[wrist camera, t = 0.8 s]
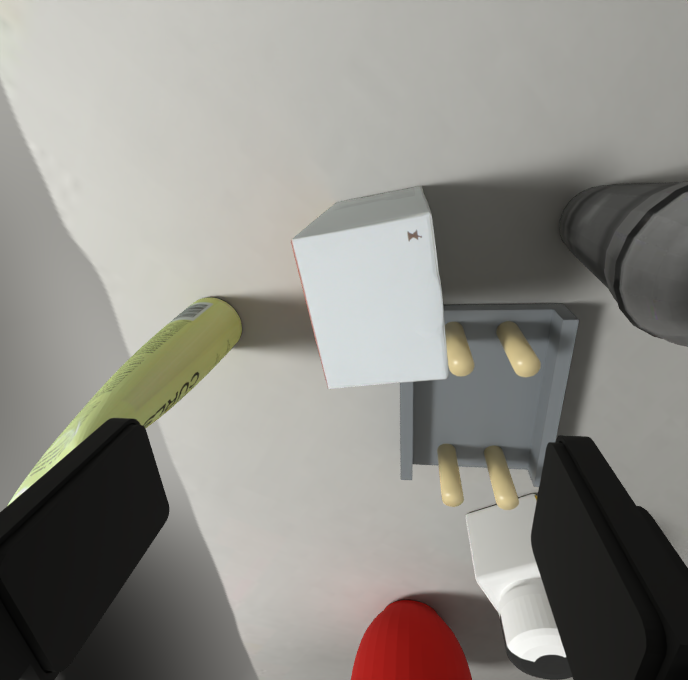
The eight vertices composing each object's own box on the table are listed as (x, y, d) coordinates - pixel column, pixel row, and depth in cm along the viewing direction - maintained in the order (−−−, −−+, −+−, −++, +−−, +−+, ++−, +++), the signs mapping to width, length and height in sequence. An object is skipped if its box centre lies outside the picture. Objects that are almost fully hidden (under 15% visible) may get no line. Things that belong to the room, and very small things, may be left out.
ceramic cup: (325, 634, 52) (308, 734, 43) (391, 565, 45) (387, 669, 36) (411, 674, 53) (412, 779, 44) (489, 613, 46) (509, 725, 37)
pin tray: (400, 305, 32) (398, 341, 26) (562, 303, 30) (601, 341, 24) (401, 454, 38) (400, 511, 32) (535, 460, 36) (561, 522, 30)
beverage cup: (530, 184, 27) (776, 253, 9) (653, 145, 25) (1271, 133, 7) (545, 285, 30) (758, 491, 12) (657, 256, 28) (1116, 450, 10)
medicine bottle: (563, 540, 40) (621, 684, 29) (493, 558, 42) (523, 697, 31) (534, 490, 38) (586, 626, 27) (463, 512, 40) (485, 645, 29)
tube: (242, 359, 36) (88, 557, 19) (188, 348, 36) (-14, 532, 19) (244, 301, 34) (69, 465, 16) (186, 290, 34) (-48, 439, 16)
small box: (334, 201, 29) (286, 235, 18) (422, 184, 28) (435, 208, 16) (355, 305, 32) (326, 393, 21) (435, 294, 31) (453, 380, 19)
